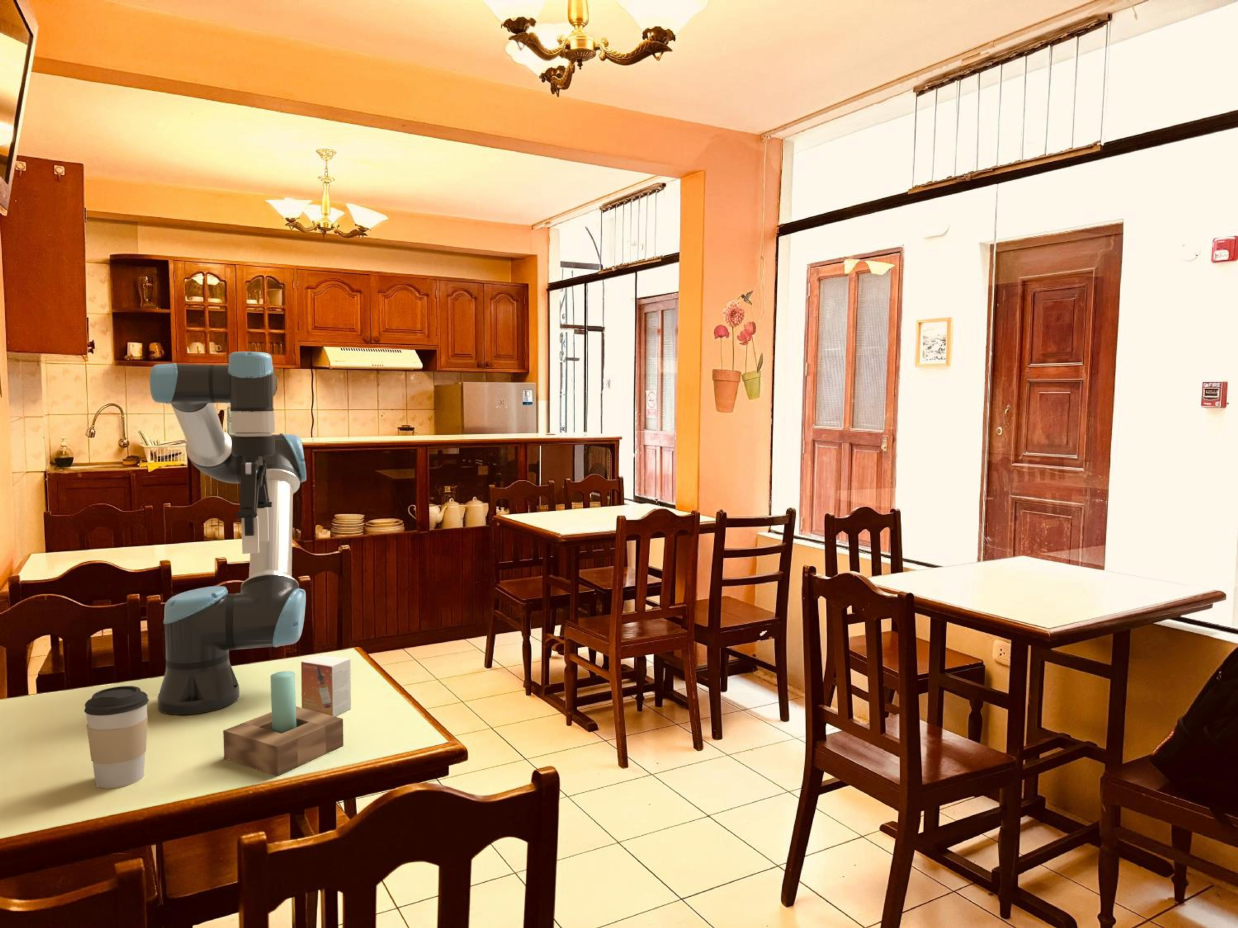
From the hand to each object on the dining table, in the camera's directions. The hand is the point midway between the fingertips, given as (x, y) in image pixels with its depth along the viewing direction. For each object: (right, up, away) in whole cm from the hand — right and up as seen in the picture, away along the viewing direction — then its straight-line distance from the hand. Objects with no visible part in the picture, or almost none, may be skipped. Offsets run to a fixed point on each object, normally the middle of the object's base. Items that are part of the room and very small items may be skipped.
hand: (256, 547), depth 156 cm
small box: (+10, -34, +10) cm, 37 cm away
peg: (+9, -36, -9) cm, 38 cm away
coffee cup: (-14, -36, -20) cm, 44 cm away
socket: (+9, -36, -9) cm, 38 cm away
